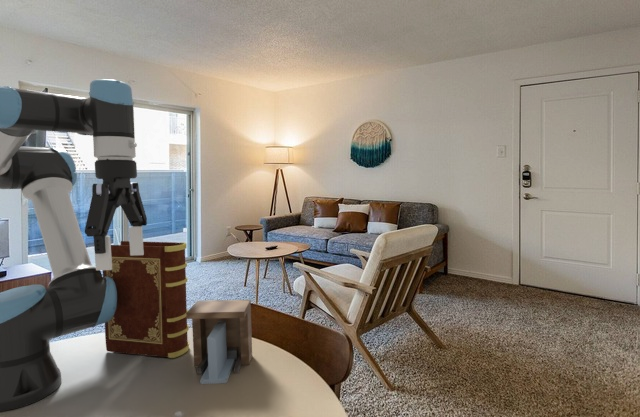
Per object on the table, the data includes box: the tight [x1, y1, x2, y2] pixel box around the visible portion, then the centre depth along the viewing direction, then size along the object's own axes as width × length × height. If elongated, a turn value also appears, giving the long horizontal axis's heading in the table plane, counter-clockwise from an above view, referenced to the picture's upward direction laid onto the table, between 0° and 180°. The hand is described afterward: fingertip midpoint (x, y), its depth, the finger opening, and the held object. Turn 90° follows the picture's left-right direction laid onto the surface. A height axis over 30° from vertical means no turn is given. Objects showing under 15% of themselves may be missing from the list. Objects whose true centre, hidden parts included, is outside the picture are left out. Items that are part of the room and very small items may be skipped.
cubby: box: [186, 299, 253, 375], centre depth 97 cm, size 14×9×16 cm, turn 91°
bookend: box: [200, 322, 236, 385], centre depth 93 cm, size 6×10×11 cm, turn 1°
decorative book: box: [102, 240, 190, 359], centre depth 106 cm, size 22×8×30 cm, turn 77°
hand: (122, 262), depth 79 cm, fingers open, 13 cm apart
